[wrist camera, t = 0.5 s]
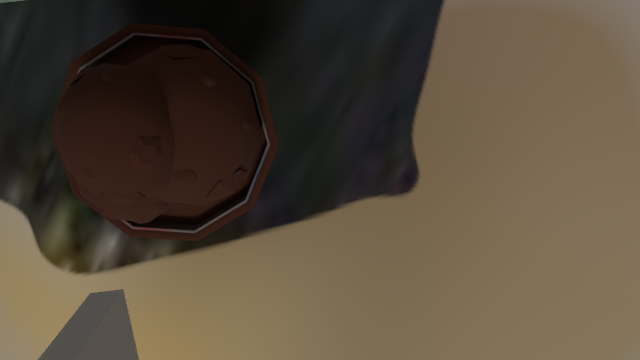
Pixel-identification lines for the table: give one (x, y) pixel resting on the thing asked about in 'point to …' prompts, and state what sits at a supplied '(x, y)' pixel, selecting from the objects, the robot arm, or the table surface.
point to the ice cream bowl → (164, 132)
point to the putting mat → (2, 0)
